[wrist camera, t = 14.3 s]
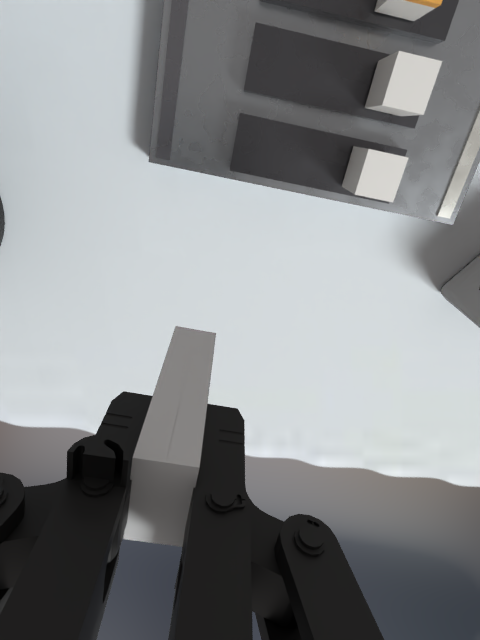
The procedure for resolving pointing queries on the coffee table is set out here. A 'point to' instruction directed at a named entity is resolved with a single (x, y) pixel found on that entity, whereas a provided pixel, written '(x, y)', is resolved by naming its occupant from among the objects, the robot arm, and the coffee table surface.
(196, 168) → the panel
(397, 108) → the block
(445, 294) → the electrical switch
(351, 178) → the block
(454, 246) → the coffee table surface
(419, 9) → the block
